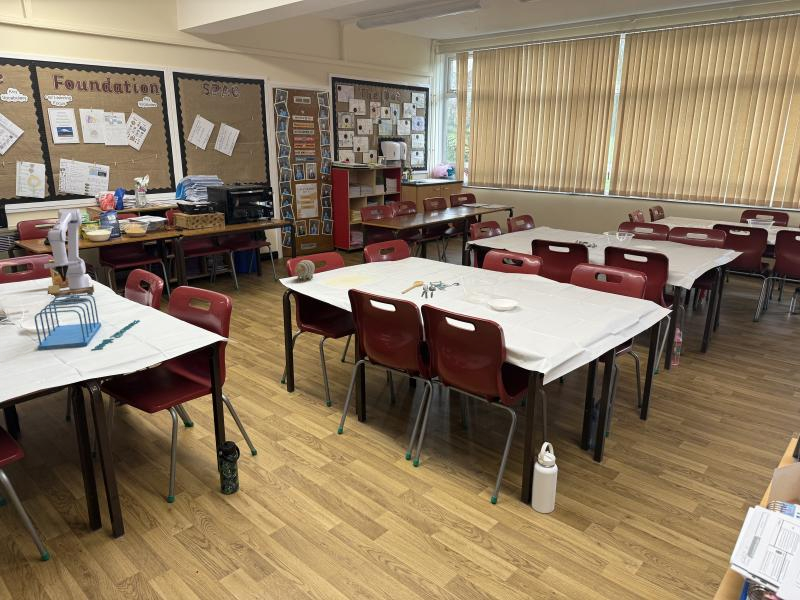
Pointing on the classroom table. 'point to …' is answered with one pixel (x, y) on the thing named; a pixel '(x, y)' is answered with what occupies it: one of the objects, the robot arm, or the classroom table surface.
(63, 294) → the beam
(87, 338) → the file sorter
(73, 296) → the pivot stand
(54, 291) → the brass weight
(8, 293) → the classroom table surface
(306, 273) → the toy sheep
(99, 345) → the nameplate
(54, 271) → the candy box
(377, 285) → the classroom table surface
